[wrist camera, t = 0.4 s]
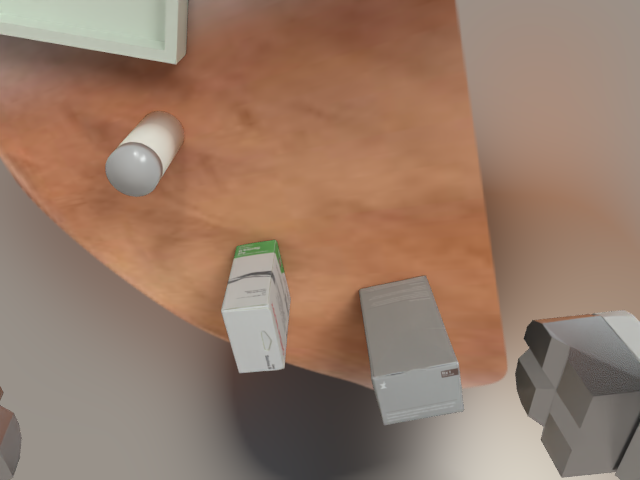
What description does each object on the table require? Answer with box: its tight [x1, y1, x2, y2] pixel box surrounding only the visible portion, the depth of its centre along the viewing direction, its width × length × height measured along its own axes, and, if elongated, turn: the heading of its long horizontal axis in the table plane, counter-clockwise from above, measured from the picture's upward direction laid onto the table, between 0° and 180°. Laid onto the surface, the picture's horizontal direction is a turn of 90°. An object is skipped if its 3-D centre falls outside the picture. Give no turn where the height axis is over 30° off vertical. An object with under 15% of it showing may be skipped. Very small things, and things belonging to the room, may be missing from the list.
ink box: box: [221, 240, 291, 373], centre depth 58 cm, size 9×5×12 cm, turn 9°
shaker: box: [105, 111, 184, 197], centre depth 50 cm, size 4×4×10 cm
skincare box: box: [359, 276, 464, 425], centre depth 58 cm, size 8×7×16 cm
